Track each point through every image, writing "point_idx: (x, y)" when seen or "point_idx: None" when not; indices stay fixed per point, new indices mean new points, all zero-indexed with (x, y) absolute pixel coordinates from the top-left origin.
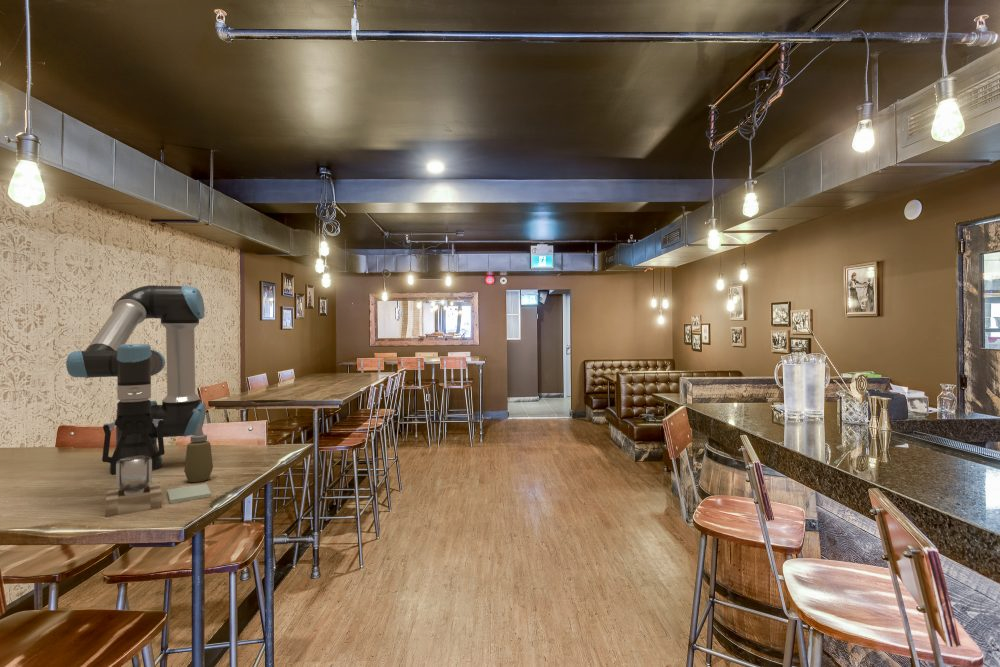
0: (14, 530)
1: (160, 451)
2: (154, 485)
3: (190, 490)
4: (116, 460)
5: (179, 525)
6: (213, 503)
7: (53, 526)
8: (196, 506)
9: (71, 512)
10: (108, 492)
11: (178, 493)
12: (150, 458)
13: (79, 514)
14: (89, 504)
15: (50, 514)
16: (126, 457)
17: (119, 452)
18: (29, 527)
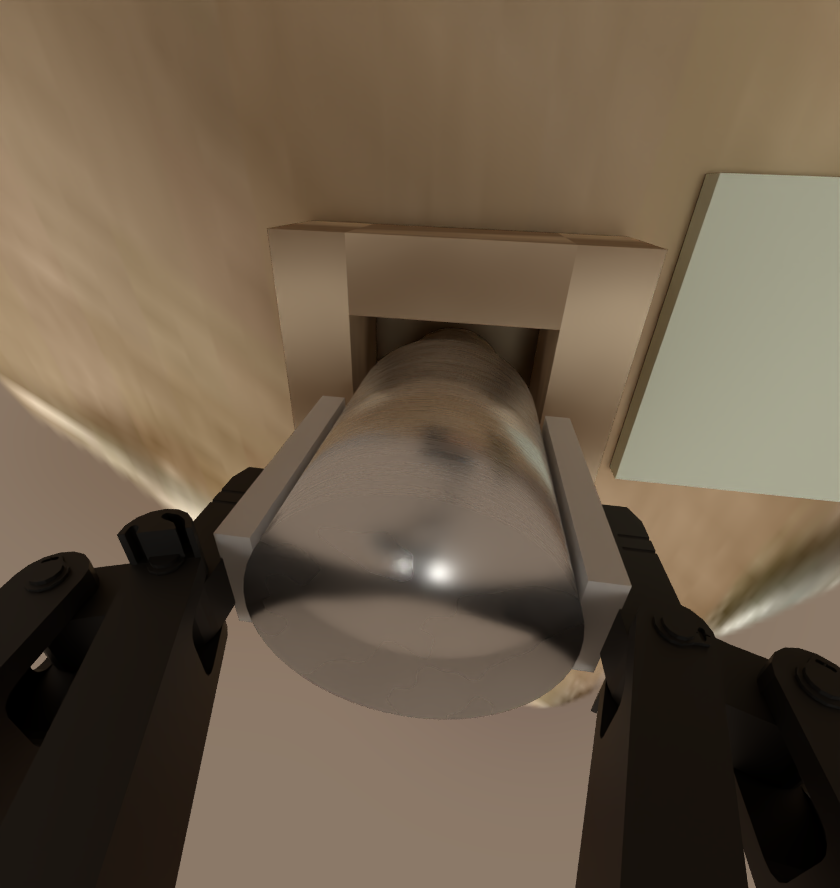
0: (35, 414)
1: (740, 790)
2: (594, 346)
3: (819, 344)
4: (223, 646)
5: (545, 696)
6: (757, 588)
7: (166, 461)
8: (680, 579)
9: (155, 273)
10: (290, 332)
11: (717, 369)
12: (594, 634)
13: (211, 348)
14: (199, 122)
15: (54, 233)
16: (305, 515)
17: (194, 764)
18: (74, 412)
